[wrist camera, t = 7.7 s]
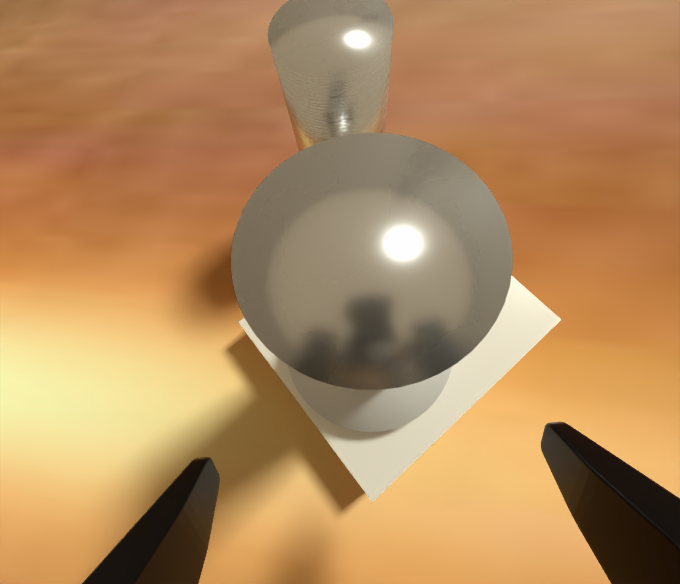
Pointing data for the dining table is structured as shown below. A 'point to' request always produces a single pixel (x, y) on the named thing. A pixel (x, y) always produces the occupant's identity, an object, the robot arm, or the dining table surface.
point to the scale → (412, 396)
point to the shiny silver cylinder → (371, 261)
